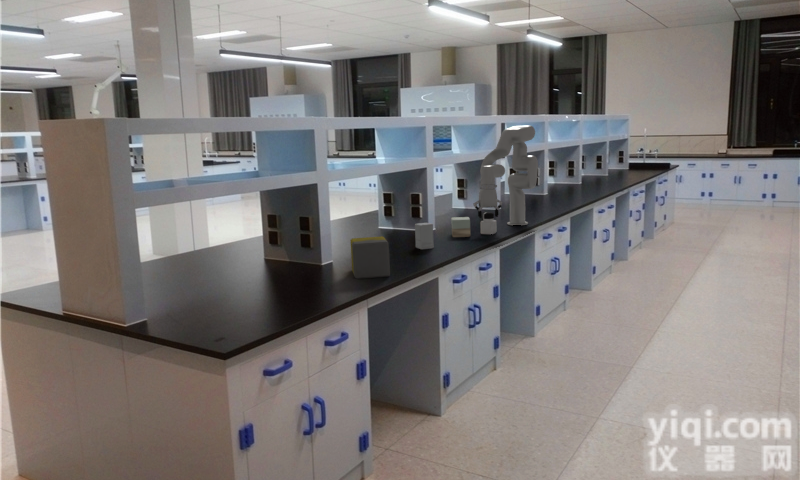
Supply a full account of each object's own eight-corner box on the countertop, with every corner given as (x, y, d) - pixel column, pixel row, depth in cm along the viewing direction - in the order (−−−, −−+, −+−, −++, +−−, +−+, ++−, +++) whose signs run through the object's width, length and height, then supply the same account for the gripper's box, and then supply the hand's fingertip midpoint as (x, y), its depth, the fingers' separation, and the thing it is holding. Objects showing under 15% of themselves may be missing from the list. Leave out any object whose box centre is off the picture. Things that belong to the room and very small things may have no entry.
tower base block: (452, 234, 355) (451, 225, 354) (469, 233, 354) (469, 225, 353) (452, 237, 345) (452, 228, 344) (470, 237, 344) (470, 228, 344)
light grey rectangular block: (496, 232, 353) (496, 212, 351) (491, 234, 348) (491, 213, 345) (485, 231, 357) (485, 211, 355) (480, 233, 351) (480, 213, 349)
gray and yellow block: (382, 264, 282) (381, 232, 279) (390, 276, 258) (388, 241, 256) (350, 267, 280) (348, 234, 277) (355, 279, 256) (353, 244, 254)
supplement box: (434, 248, 316) (433, 224, 313) (421, 249, 313) (420, 225, 311) (428, 245, 322) (427, 222, 320) (415, 247, 320) (414, 223, 317)
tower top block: (451, 226, 354) (451, 217, 353) (468, 225, 353) (468, 216, 352) (452, 228, 344) (452, 220, 343) (470, 228, 343) (470, 219, 343)
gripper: (500, 186, 353) (500, 215, 356) (471, 187, 350) (471, 217, 353) (504, 187, 345) (504, 217, 348) (475, 188, 342) (475, 218, 345)
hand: (488, 217), depth 350 cm, fingers open, 9 cm apart
